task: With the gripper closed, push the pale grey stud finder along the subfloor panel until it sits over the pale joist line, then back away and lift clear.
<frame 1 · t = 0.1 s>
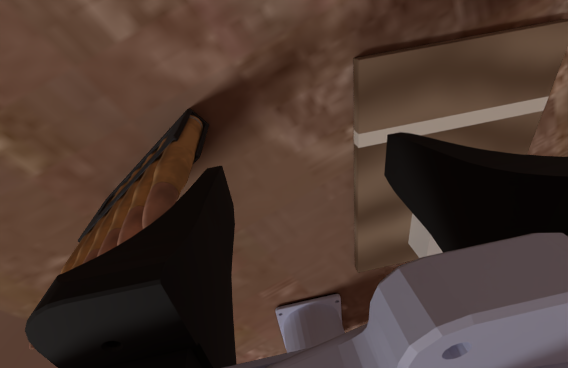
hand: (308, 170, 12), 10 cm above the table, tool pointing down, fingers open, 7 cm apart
ammunition clip: (156, 162, 21), on the table
subfloor panel: (434, 178, 26), on the table
stud finder: (436, 208, 27), point 1 cm above the table, touching subfloor panel
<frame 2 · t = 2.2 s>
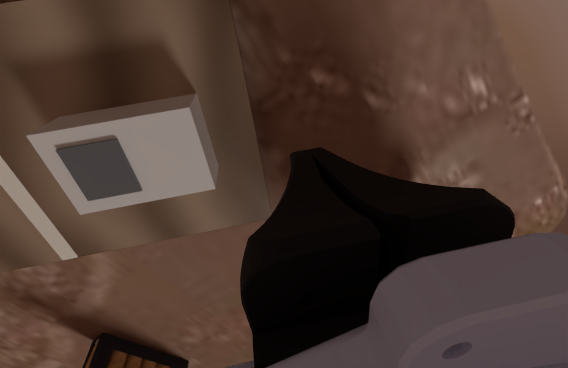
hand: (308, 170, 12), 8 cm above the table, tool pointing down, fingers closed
ammunition clip: (145, 349, 31), on the table
subfloor panel: (104, 145, 18), on the table
stud finder: (145, 143, 17), point 1 cm above the table, touching subfloor panel
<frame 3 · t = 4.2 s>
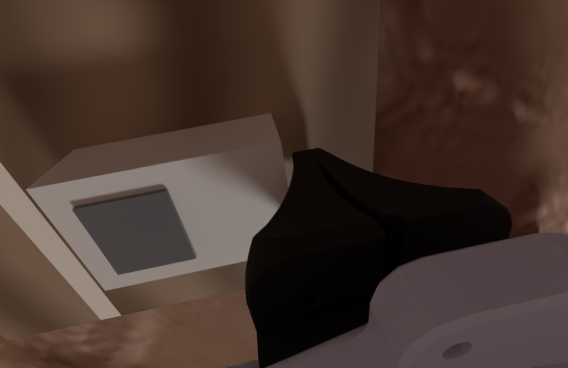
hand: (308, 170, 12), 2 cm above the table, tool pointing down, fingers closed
subfloor panel: (166, 177, 13), on the table
stud finder: (193, 182, 12), point 1 cm above the table, touching gripper, subfloor panel
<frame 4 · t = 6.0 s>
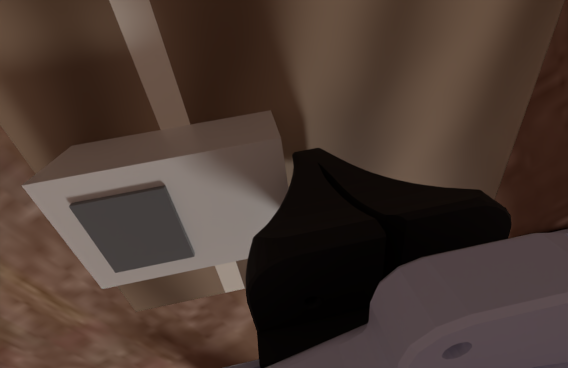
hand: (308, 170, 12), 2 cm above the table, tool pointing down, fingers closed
subfloor panel: (318, 147, 14), on the table
stud finder: (192, 179, 12), point 1 cm above the table, touching gripper, subfloor panel
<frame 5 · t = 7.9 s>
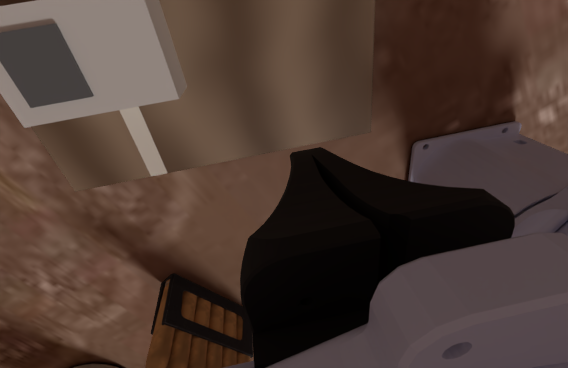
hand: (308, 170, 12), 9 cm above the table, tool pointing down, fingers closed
ammunition clip: (210, 296, 30), on the table
subfloor panel: (210, 35, 17), on the table
stud finder: (102, 54, 15), point 1 cm above the table, touching subfloor panel
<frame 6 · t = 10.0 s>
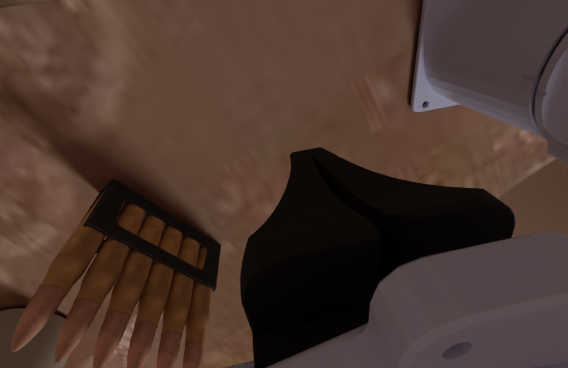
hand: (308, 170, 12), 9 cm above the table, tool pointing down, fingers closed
travel mug: (35, 327, 28), on the table
ammunition clip: (166, 220, 24), on the table
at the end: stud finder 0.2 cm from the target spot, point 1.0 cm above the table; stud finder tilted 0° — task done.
